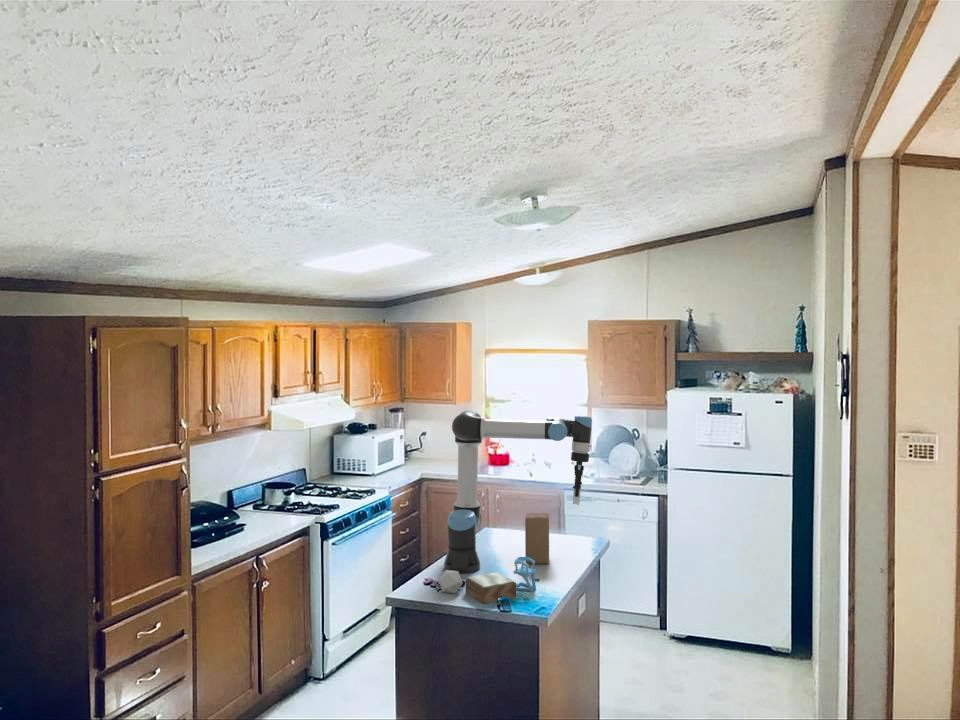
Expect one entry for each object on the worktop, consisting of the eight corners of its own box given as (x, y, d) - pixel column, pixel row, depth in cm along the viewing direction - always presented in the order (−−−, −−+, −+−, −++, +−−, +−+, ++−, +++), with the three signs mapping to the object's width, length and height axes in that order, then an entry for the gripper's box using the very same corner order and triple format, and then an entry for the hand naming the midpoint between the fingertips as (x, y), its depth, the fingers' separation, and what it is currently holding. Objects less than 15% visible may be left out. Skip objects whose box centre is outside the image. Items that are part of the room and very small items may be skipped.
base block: (483, 603, 278) (483, 587, 277) (465, 592, 290) (465, 577, 290) (516, 597, 284) (516, 581, 284) (497, 586, 297) (497, 571, 296)
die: (447, 598, 286) (462, 577, 286) (430, 584, 289) (446, 563, 290) (454, 599, 293) (469, 579, 294) (438, 585, 297) (453, 565, 298)
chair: (529, 593, 289) (529, 561, 288) (510, 589, 293) (510, 558, 293) (539, 587, 295) (539, 556, 295) (520, 584, 300) (520, 553, 299)
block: (549, 558, 335) (548, 512, 334) (549, 564, 325) (548, 518, 324) (526, 557, 336) (526, 512, 335) (525, 564, 326) (525, 517, 325)
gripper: (589, 455, 313) (585, 507, 313) (588, 450, 338) (584, 498, 338) (571, 453, 314) (566, 505, 314) (571, 448, 339) (567, 496, 339)
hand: (576, 501), depth 326 cm, fingers open, 13 cm apart
